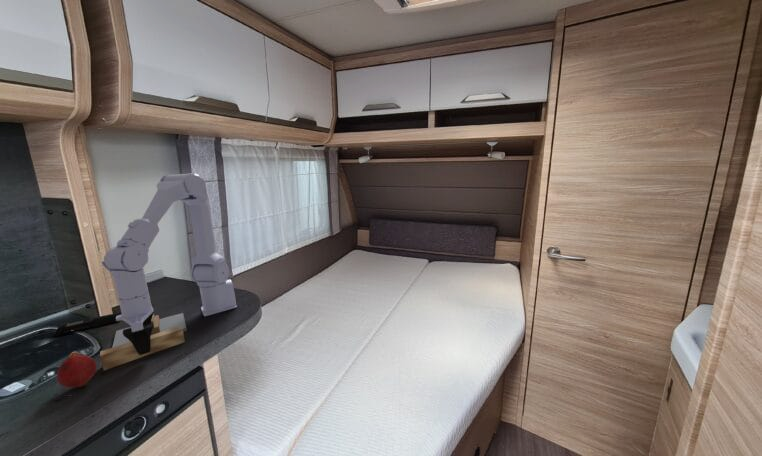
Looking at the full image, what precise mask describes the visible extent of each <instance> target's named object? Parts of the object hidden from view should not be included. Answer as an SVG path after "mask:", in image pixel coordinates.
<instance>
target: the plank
mask: <svg viewBox="0 0 762 456" xmlns="http://www.w3.org/2000/svg"><path fill="white" fill-rule="evenodd" d="M150 339H151V348H150V352H149V353H146V354H142V355H139V354H138V353H137V351H136V349H135V347H134V346H133V344H132V343H131V342H128V343H125V344H122V345H119V346H116V347H113V348H112V347H110V348H107V349H103V350H101V351H99V352H100V353H99V357H100V361H101V365H102V368H103V371H106V370H109V369H112V368H115V367H118V366H121V365H123V364H127V363H129V362H132V361H134V360H138V359H141V358H143V357H146V356H149V355H152V354H155V353H157V352H158V353H159V352H160V351H163V350H166V349H169V348H172V347H174V346H177V345H178V346H179V345H181V344H184V343H185V342H186V341H185V335H184V332H183V330H182V327H181V326H178V327H175V328H172V329H169V330H166V331H163V332H160V333H157V334H153V335H151V338H150Z"/></svg>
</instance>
